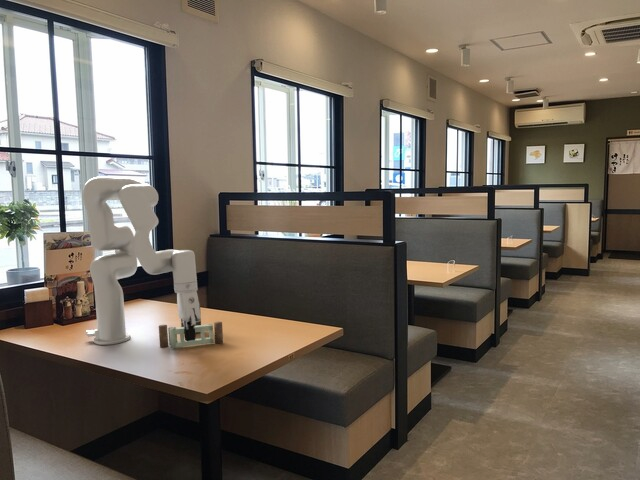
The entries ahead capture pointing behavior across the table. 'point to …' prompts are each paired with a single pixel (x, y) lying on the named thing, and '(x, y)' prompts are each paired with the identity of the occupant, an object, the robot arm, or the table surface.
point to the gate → (202, 340)
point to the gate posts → (163, 328)
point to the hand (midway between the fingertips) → (190, 340)
